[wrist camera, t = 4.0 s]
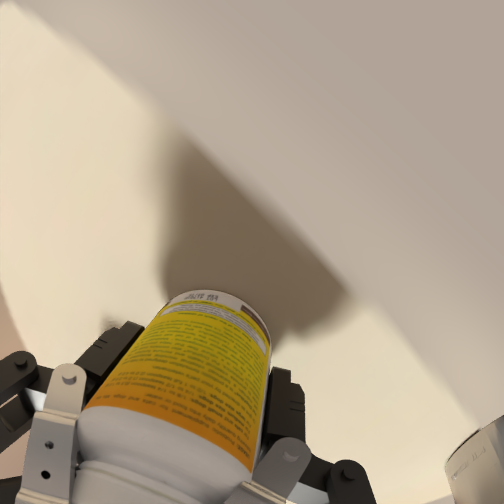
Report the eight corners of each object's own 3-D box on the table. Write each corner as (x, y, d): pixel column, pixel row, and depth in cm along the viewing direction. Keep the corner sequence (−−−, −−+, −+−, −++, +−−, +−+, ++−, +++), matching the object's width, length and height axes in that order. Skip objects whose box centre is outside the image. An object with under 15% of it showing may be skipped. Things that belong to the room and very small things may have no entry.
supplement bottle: (153, 279, 13) (-6, 443, 3) (276, 289, 12) (240, 547, 3) (167, 372, 15) (83, 528, 5) (269, 385, 14) (242, 576, 4)
